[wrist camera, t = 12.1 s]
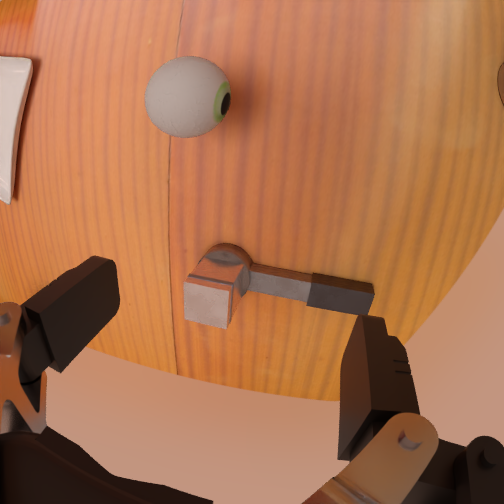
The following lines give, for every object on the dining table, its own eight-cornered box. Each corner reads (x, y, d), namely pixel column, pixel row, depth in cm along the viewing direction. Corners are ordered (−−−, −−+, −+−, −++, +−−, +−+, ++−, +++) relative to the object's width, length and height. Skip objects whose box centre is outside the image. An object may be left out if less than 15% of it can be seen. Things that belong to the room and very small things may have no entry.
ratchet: (376, 271, 37) (384, 300, 31) (361, 316, 40) (365, 349, 34) (204, 238, 41) (183, 261, 34) (202, 284, 44) (183, 311, 37)
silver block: (244, 263, 37) (229, 291, 32) (241, 299, 39) (226, 329, 34) (204, 256, 38) (183, 281, 32) (203, 291, 40) (184, 319, 34)
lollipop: (250, 138, 34) (203, 149, 21) (193, 126, 35) (121, 134, 22) (263, 80, 31) (224, 52, 18) (205, 71, 32) (137, 47, 18)
